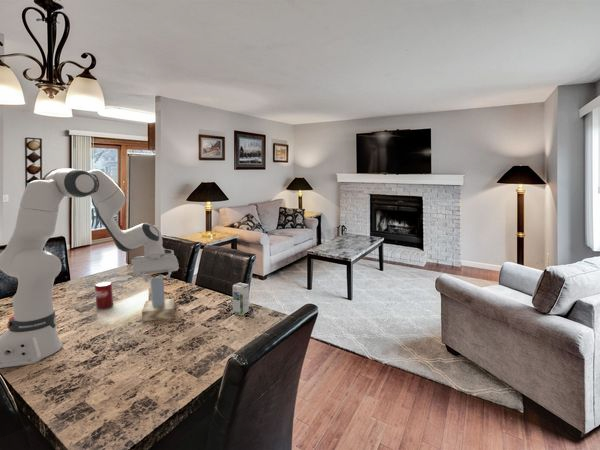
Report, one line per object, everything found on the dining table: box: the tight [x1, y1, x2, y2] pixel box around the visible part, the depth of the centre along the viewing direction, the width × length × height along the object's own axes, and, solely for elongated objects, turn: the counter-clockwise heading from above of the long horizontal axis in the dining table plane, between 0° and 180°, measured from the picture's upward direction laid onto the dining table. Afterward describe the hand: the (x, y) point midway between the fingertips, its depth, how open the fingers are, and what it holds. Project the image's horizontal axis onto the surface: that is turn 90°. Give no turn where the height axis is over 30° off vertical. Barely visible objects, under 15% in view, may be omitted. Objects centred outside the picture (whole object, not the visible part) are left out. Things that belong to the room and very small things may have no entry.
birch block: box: [141, 298, 176, 322], centre depth 154 cm, size 13×13×5 cm
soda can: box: [94, 281, 114, 310], centre depth 160 cm, size 7×7×12 cm
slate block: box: [149, 276, 165, 308], centre depth 152 cm, size 5×5×13 cm
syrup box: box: [232, 282, 250, 316], centre depth 156 cm, size 6×6×14 cm
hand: (157, 280), depth 152 cm, fingers open, 8 cm apart
